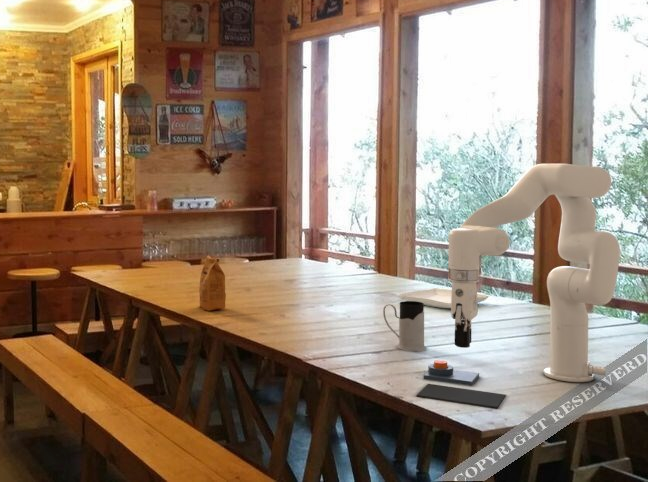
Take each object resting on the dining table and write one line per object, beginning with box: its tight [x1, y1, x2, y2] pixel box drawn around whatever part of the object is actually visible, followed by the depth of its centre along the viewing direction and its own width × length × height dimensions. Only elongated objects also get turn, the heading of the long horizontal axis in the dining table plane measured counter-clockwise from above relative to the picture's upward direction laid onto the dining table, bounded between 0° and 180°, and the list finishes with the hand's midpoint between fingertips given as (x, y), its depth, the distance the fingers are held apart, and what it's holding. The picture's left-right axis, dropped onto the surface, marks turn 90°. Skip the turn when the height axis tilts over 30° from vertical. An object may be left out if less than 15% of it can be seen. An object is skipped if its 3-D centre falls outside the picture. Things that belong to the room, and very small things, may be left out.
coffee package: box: [198, 255, 227, 312], centre depth 334 cm, size 10×12×22 cm
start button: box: [433, 359, 448, 369], centre depth 228 cm, size 4×4×2 cm
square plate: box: [396, 287, 490, 309], centre depth 336 cm, size 27×27×4 cm
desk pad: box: [416, 383, 507, 410], centre depth 210 cm, size 20×12×1 cm, turn 56°
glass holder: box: [382, 300, 427, 352], centre depth 263 cm, size 9×14×15 cm, turn 48°
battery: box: [456, 322, 471, 349], centre depth 209 cm, size 3×3×6 cm
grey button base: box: [423, 363, 480, 387], centre depth 226 cm, size 13×10×3 cm
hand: (462, 343), depth 209 cm, fingers closed on battery, 3 cm apart
